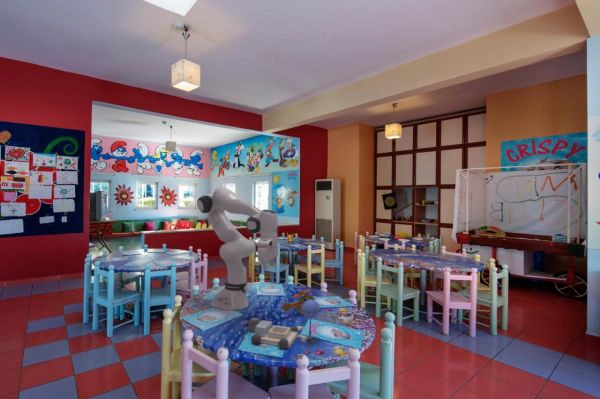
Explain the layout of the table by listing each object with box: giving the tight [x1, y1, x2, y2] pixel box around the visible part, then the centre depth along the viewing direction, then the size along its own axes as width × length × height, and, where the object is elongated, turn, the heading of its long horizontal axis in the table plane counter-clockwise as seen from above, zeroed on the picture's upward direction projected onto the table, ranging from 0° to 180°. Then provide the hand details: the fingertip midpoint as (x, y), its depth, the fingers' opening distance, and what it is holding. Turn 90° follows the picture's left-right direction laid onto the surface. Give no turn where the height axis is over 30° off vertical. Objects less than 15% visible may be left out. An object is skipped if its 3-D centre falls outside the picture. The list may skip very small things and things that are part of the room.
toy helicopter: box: [281, 288, 316, 316], centre depth 175 cm, size 8×21×14 cm, turn 123°
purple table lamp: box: [301, 300, 321, 341], centre depth 146 cm, size 9×9×18 cm
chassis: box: [250, 319, 299, 350], centre depth 145 cm, size 18×16×6 cm
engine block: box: [247, 317, 262, 334], centre depth 153 cm, size 5×4×6 cm
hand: (268, 267), depth 163 cm, fingers open, 8 cm apart
